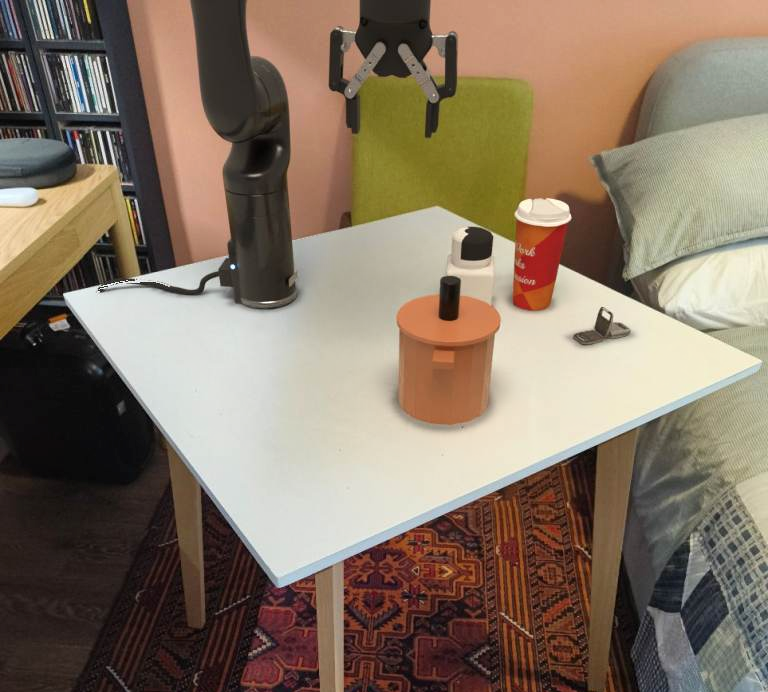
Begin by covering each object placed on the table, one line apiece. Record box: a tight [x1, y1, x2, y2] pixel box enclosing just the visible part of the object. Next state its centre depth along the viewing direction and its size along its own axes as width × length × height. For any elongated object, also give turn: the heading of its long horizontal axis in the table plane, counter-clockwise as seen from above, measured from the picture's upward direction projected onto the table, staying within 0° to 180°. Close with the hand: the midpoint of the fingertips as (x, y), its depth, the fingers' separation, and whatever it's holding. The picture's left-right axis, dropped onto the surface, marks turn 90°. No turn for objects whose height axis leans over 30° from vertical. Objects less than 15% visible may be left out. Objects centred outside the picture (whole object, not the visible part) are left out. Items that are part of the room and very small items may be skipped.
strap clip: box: [573, 306, 631, 345], centre depth 112 cm, size 8×3×4 cm, turn 113°
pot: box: [397, 328, 496, 426], centre depth 96 cm, size 11×17×12 cm
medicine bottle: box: [445, 226, 495, 307], centre depth 116 cm, size 7×7×12 cm
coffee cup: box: [512, 197, 572, 312], centre depth 117 cm, size 8×8×15 cm
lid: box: [395, 275, 502, 346], centre depth 90 cm, size 12×12×6 cm
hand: (391, 134), depth 90 cm, fingers open, 8 cm apart
